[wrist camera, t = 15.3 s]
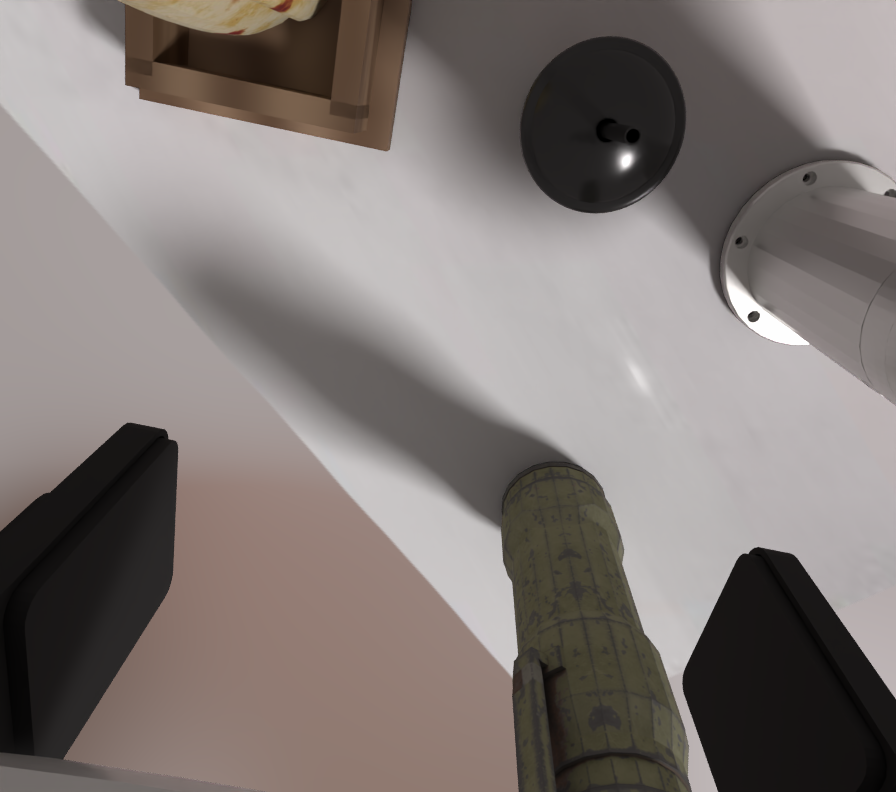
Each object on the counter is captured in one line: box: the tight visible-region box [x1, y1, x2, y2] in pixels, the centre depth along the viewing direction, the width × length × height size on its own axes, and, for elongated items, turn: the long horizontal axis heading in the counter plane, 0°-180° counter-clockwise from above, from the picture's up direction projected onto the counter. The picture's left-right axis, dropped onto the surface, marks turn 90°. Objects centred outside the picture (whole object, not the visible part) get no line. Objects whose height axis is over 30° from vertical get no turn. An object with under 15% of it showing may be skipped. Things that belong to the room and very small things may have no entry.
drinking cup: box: [520, 36, 686, 213], centre depth 34 cm, size 8×8×20 cm
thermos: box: [501, 462, 692, 792], centre depth 39 cm, size 9×12×35 cm
